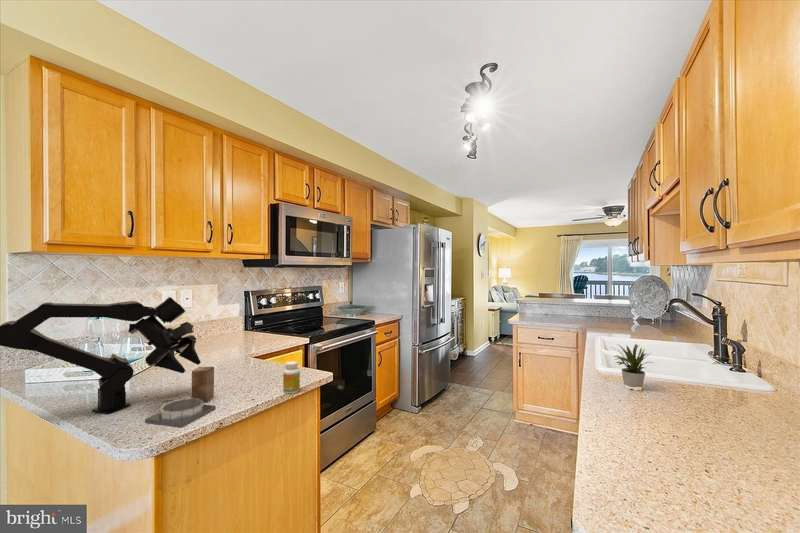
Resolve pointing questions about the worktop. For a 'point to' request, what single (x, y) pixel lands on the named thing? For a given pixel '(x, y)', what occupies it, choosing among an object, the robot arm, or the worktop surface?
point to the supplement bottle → (291, 378)
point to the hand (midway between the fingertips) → (192, 367)
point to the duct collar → (180, 412)
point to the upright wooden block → (203, 383)
